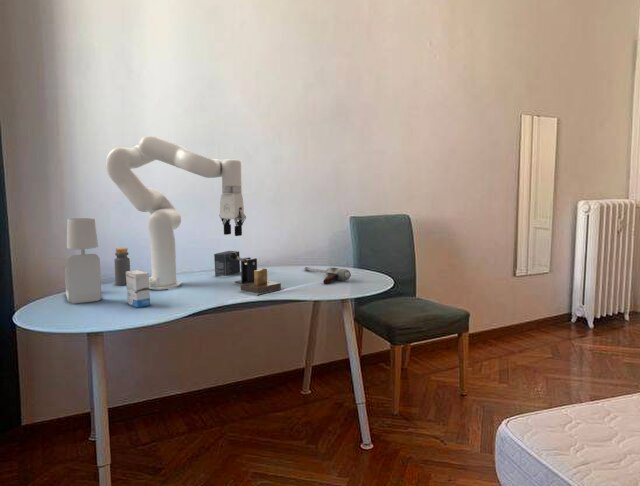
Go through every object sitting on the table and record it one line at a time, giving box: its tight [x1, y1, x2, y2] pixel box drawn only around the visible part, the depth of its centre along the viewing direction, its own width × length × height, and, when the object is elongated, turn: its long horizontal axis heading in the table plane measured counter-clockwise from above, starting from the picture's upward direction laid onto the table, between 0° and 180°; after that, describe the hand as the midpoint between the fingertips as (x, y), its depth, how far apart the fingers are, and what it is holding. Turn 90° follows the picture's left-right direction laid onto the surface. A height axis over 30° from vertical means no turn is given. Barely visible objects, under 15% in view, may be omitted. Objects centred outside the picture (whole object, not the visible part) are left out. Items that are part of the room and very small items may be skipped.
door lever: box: [229, 252, 248, 265], centre depth 217 cm, size 12×3×3 cm, turn 141°
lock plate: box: [240, 279, 282, 297], centre depth 208 cm, size 12×10×3 cm
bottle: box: [113, 247, 131, 286], centre depth 219 cm, size 6×6×15 cm
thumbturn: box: [254, 267, 268, 285], centre depth 207 cm, size 5×2×6 cm, turn 141°
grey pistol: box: [304, 266, 352, 285], centre depth 236 cm, size 5×35×13 cm
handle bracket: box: [234, 256, 258, 285], centre depth 221 cm, size 9×8×11 cm
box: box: [213, 250, 241, 277], centre depth 239 cm, size 11×7×10 cm, turn 154°
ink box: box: [126, 269, 151, 308], centre depth 185 cm, size 9×5×12 cm, turn 45°
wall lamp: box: [64, 217, 103, 304], centre depth 193 cm, size 10×21×30 cm, turn 32°
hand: (232, 234), depth 213 cm, fingers open, 6 cm apart
